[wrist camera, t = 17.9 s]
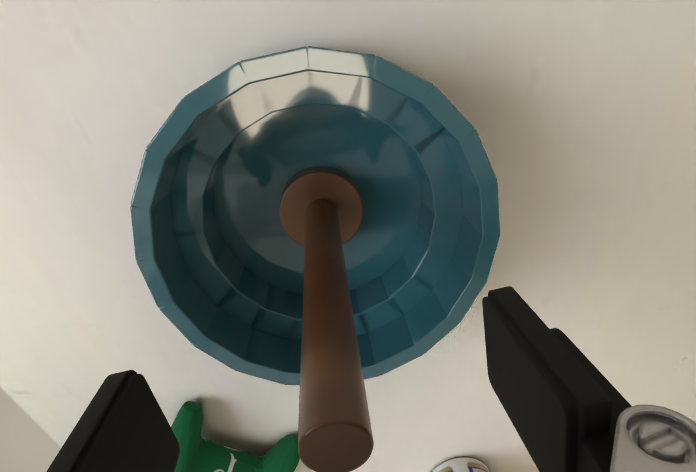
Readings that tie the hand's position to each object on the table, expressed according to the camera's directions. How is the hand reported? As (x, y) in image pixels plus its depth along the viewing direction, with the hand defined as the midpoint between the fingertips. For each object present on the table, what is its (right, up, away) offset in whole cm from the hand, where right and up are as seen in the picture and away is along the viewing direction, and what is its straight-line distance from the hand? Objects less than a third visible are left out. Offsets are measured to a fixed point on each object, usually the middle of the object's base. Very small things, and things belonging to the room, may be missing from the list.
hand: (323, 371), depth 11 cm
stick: (-1, +5, +11) cm, 13 cm away
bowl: (-1, +6, +12) cm, 13 cm away
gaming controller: (-8, -11, +19) cm, 24 cm away
